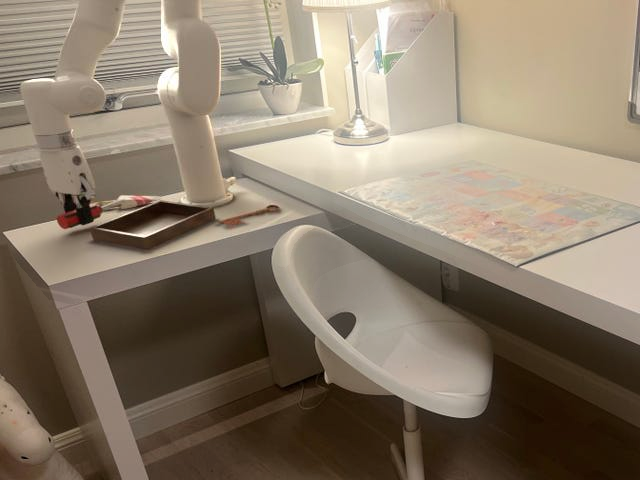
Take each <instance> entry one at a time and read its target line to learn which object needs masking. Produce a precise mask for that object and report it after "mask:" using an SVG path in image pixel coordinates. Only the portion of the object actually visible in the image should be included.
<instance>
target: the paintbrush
mask: <svg viewBox="0 0 640 480" xmlns="http://www.w3.org/2000/svg"><path fill="white" fill-rule="evenodd" d="M162 198H163V196H162V195H127V194H126V195H121V194H120V195H119V196H118V198H117V199H112V200H104V201H96V202H91V204H96V205H99V206H104V205H107V204H110V203H113V202H116V201H118V200H121V199H124V200H125V202H123V203H121V204H118V205H115V206H112V207H109V208H108V209H114V208H120V210H125V209H132V208H135V207H139V206H142V205H146V204H151V203H155V202H157V201H160V200H162Z"/></svg>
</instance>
